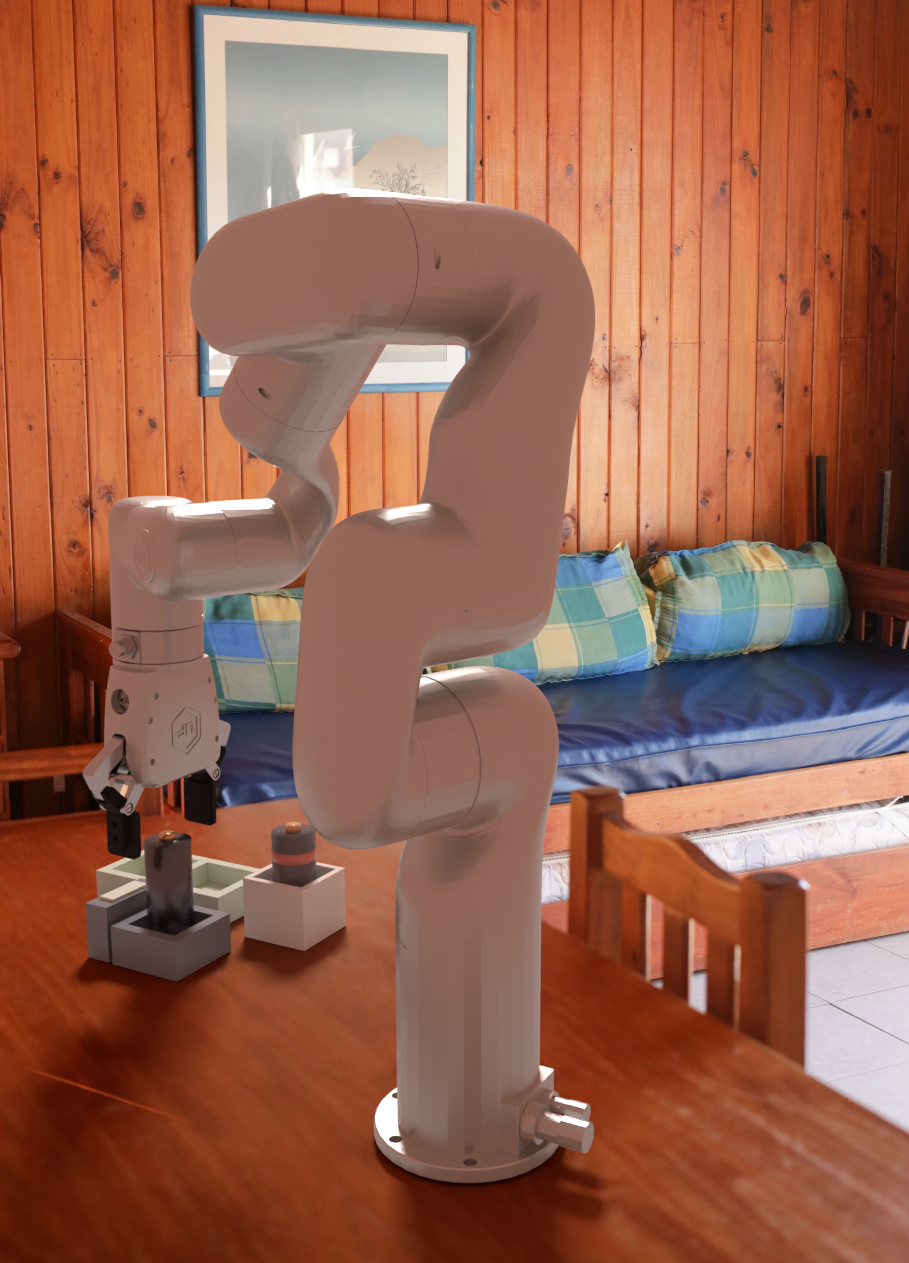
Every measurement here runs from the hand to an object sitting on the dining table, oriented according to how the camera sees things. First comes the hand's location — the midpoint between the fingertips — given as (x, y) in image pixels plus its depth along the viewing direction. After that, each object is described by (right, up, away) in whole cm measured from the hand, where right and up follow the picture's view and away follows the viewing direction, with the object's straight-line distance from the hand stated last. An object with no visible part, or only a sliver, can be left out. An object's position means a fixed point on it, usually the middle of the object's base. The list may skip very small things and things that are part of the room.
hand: (163, 838), depth 117 cm
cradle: (-1, -11, +2) cm, 11 cm away
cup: (+11, -10, +7) cm, 16 cm away
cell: (0, -9, +1) cm, 9 cm away
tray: (-1, -8, +15) cm, 17 cm away
